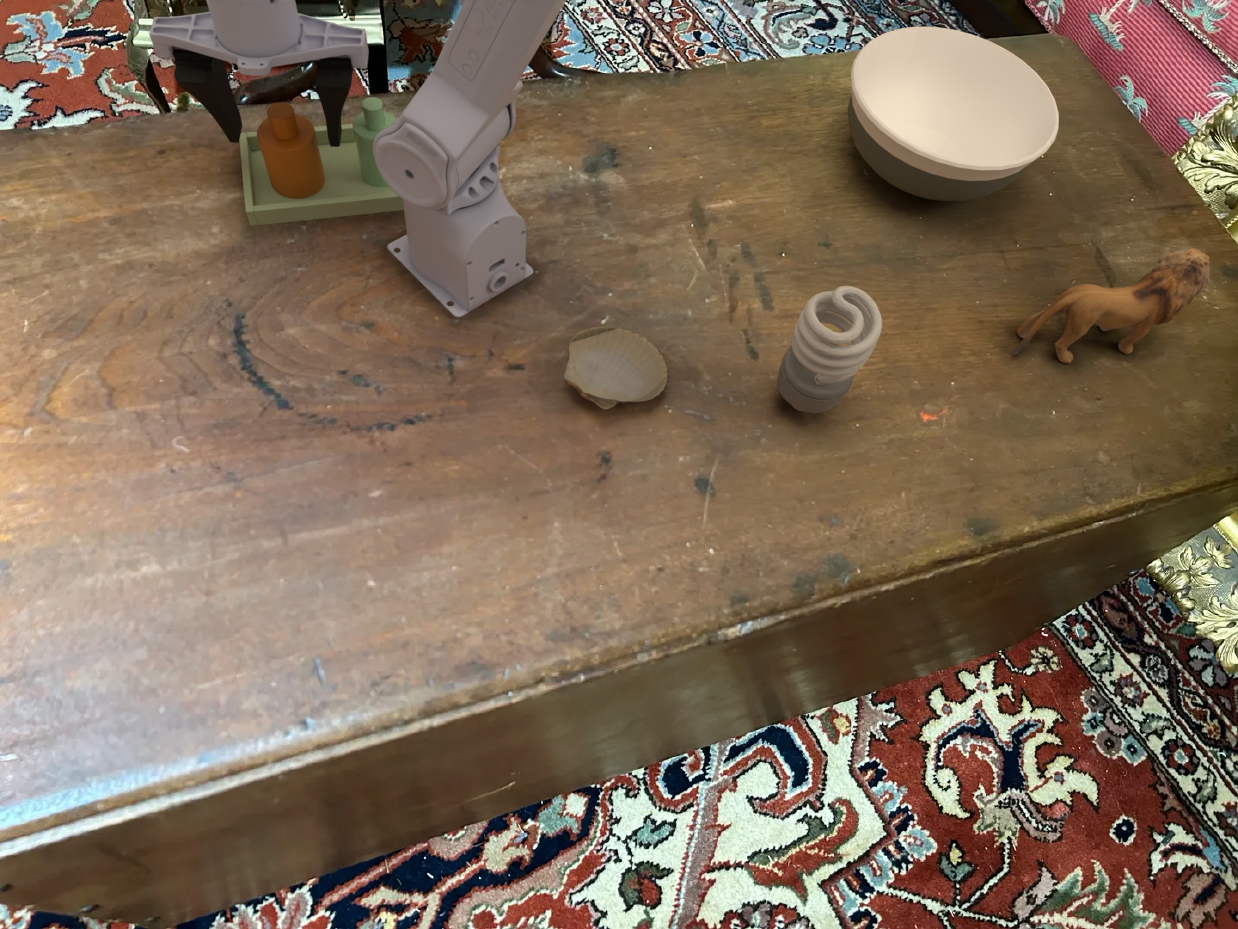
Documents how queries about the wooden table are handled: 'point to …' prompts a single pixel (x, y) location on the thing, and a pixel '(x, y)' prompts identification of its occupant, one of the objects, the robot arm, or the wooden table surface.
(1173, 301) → the lion figurine
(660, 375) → the seashell
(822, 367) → the light bulb
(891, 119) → the bowl
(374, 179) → the green bottle
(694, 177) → the wooden table surface
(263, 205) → the tray
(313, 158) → the amber bottle
